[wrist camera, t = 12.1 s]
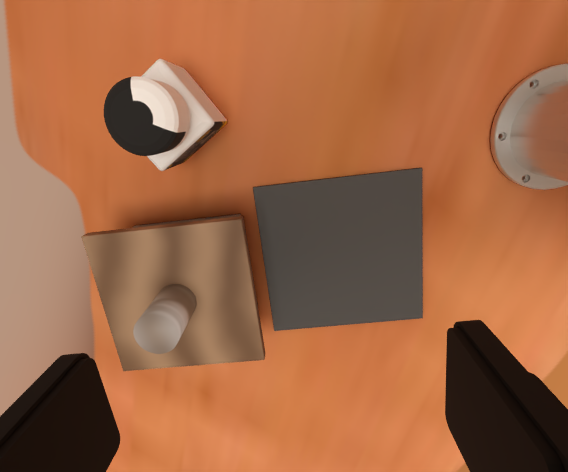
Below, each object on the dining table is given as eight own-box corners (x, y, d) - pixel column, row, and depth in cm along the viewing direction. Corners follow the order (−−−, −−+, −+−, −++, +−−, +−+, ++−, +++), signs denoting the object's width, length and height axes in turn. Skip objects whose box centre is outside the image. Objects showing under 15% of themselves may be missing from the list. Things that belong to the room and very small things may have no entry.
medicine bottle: (183, 163, 41) (139, 181, 30) (137, 112, 39) (72, 110, 28) (229, 121, 39) (201, 124, 28) (183, 66, 38) (135, 45, 26)
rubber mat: (421, 167, 40) (422, 168, 40) (421, 316, 46) (422, 318, 46) (253, 186, 42) (252, 187, 41) (274, 329, 47) (274, 330, 47)
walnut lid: (243, 215, 35) (230, 239, 29) (265, 352, 40) (258, 401, 34) (88, 232, 37) (40, 259, 30) (128, 364, 41) (94, 412, 35)
